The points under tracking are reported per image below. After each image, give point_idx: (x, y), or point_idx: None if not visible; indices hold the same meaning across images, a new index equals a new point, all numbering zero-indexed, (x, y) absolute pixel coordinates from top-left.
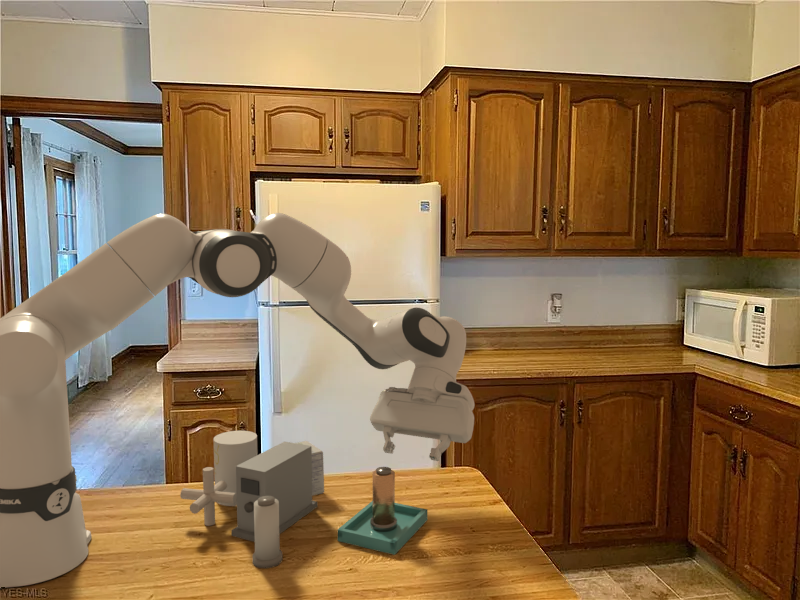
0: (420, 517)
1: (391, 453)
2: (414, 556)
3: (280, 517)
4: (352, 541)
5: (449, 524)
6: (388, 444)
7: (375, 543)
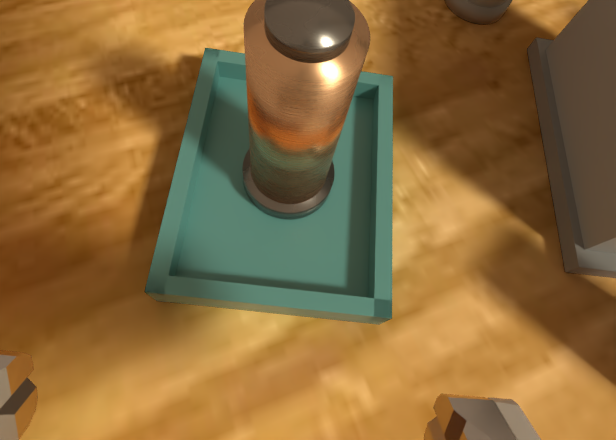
0: (162, 222)
1: (429, 433)
2: (154, 79)
3: (572, 83)
4: None
5: (63, 295)
6: (495, 432)
7: None
